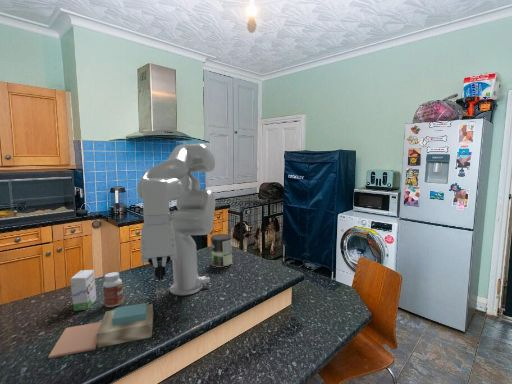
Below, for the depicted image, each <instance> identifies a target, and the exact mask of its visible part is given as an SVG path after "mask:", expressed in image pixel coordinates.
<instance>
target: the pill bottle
mask: <svg viewBox="0 0 512 384" xmlns="http://www.w3.org/2000/svg"><path fill="white" fill-rule="evenodd" d="M102 287H103V298H104V301H103V302H104V306H105V307H106V308H114V307H115V308H116V307H117V306H120V305H121V304H123V303H124V292H123V280H122V278H120V272H118V271H117V272H116V271H114V272H108V273H106V274H105V275H104V281H103V284H102Z"/></svg>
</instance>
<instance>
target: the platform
mask: <svg viewBox="0 0 512 384" xmlns="http://www.w3.org/2000/svg"><path fill="white" fill-rule="evenodd" d="M153 306H154V305H153V303H150V304H148V303H147V314H146V320H142V321H136V322H131V323H125V324H120V325H114V326H113V325H112V318H113V315H114V312H115V309H112V310H107V311H105V313H104V316H103V318H102V321H100V322H101V325H100V327H99V330H98V332H97V343H98V344H97V348H103V347H107V346H108V347H109V346H114V345H117V344H122V343H128V342H129V343H130V342H134V341H138V340H143V339H148V338H152V337H153V336H152V335H153V325H154V307H153Z"/></svg>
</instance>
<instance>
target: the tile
mask: <svg viewBox="0 0 512 384" xmlns="http://www.w3.org/2000/svg"><path fill="white" fill-rule="evenodd" d="M147 305H148V303H147V302H144V303H138V304H137V303H136V304H132V305H131V304H130V305H124V306H121V307H115V309H114V310H115V312H114V315H113V318H112V325H113V326H114V325H120V324H125V323H131V322H136V321H142V320H146V314H147Z"/></svg>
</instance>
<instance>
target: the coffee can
mask: <svg viewBox="0 0 512 384" xmlns="http://www.w3.org/2000/svg"><path fill="white" fill-rule="evenodd" d="M210 245H211V246H210V251H211V252H210V253H211V266H212V265H213V266H216V267H221V266H227V265H230V264H232V265H233V253H232V250H233V249H232V247H233V245H232V235H231V234H226V233H225V234H224V233H223V234H222V233H219V234H214V235H212V236H210ZM213 266H212V267H213ZM216 267H215V268H216Z"/></svg>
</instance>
